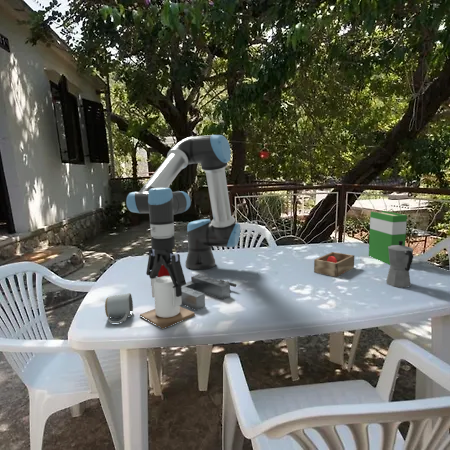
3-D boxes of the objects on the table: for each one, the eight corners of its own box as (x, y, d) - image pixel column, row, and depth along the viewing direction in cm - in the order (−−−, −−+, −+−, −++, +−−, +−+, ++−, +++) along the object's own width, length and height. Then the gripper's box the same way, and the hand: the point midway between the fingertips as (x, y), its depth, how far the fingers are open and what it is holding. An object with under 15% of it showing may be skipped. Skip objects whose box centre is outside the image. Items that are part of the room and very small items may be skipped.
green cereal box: (368, 255, 179) (370, 211, 175) (381, 255, 180) (383, 210, 176) (390, 265, 162) (393, 216, 158) (403, 263, 163) (407, 215, 159)
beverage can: (159, 321, 106) (157, 285, 104) (152, 311, 113) (150, 278, 111) (183, 315, 110) (181, 280, 108) (175, 306, 117) (173, 274, 115)
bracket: (343, 274, 151) (344, 257, 150) (335, 275, 150) (335, 258, 149) (328, 267, 163) (329, 251, 161) (320, 268, 162) (320, 252, 160)
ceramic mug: (109, 312, 116) (107, 291, 115) (133, 310, 117) (131, 289, 116) (103, 327, 106) (101, 304, 104) (130, 324, 107) (128, 302, 106)
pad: (140, 317, 112) (139, 314, 112) (171, 305, 121) (171, 302, 121) (162, 329, 103) (162, 326, 103) (194, 315, 112) (194, 312, 112)
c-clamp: (165, 297, 129) (164, 285, 128) (207, 282, 145) (207, 271, 144) (196, 310, 116) (196, 296, 115) (239, 292, 132) (239, 280, 131)
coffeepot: (379, 278, 143) (381, 237, 140) (401, 278, 143) (404, 237, 140) (397, 291, 128) (400, 246, 125) (422, 291, 128) (425, 245, 125)
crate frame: (314, 272, 154) (314, 259, 153) (332, 263, 167) (332, 251, 166) (336, 277, 146) (337, 263, 145) (353, 267, 159) (354, 255, 158)
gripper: (132, 233, 113) (137, 295, 116) (176, 243, 97) (179, 314, 100) (151, 230, 118) (155, 289, 122) (195, 238, 102) (198, 306, 105)
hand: (166, 300), depth 111 cm, fingers open, 11 cm apart
